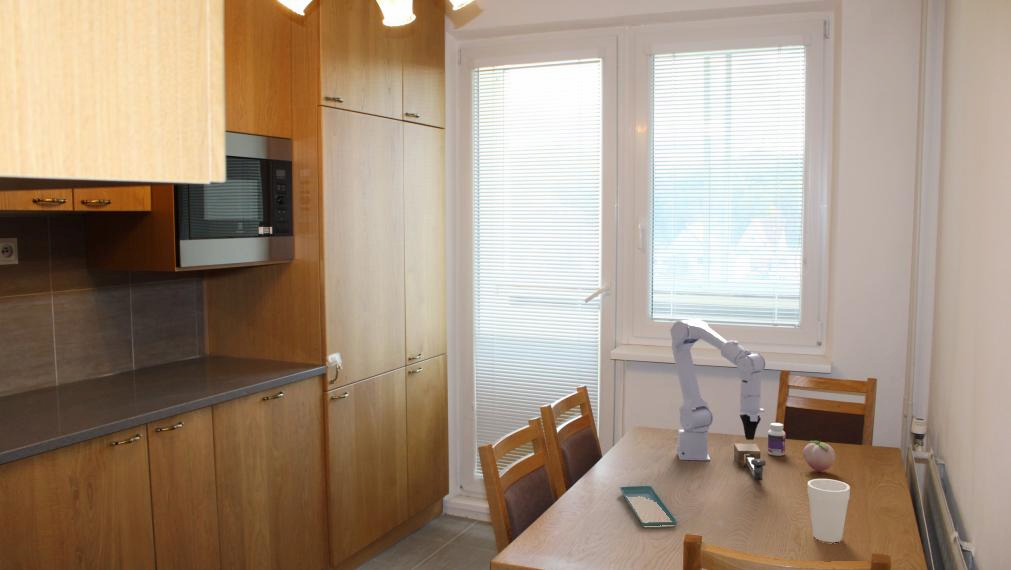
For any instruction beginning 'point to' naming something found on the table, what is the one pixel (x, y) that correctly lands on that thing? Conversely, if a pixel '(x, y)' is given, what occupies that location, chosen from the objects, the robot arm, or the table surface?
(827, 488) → the foam cup
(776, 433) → the pill bottle
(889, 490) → the table surface
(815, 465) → the decorative fruit
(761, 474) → the handle rod
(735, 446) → the wooden mallet head
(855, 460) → the table surface
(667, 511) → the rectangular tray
